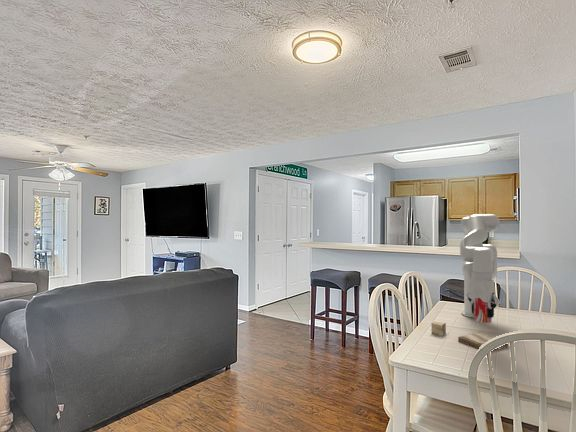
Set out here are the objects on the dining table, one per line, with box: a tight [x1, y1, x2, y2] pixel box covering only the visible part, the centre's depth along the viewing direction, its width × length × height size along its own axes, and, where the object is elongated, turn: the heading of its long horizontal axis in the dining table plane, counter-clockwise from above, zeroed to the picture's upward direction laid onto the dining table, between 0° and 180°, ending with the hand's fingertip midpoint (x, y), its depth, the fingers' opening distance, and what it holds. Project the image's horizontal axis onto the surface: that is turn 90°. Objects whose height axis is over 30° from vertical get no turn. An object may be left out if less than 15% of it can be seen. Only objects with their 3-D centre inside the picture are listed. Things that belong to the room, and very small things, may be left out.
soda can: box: [473, 296, 493, 325], centre depth 153 cm, size 7×7×12 cm
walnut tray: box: [457, 332, 509, 351], centre depth 153 cm, size 14×14×2 cm
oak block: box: [431, 320, 447, 336], centre depth 168 cm, size 5×5×5 cm
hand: (482, 314), depth 153 cm, fingers closed on soda can, 7 cm apart
